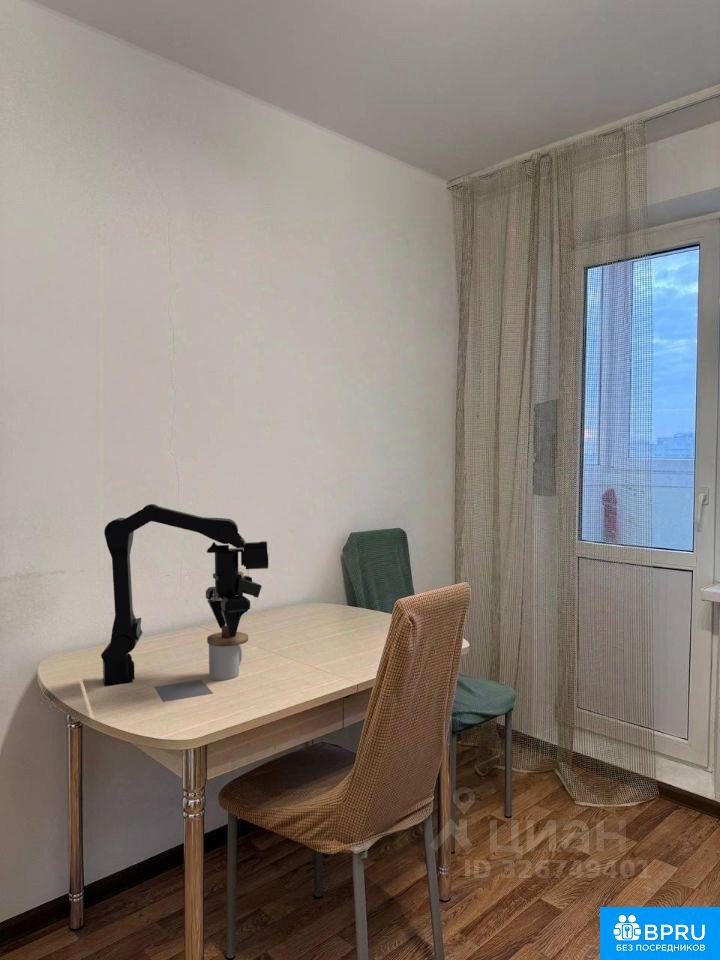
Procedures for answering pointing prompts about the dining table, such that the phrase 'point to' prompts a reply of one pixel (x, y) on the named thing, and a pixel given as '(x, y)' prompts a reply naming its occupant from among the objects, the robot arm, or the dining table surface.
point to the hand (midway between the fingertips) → (227, 632)
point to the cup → (224, 662)
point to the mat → (182, 690)
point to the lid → (227, 638)
